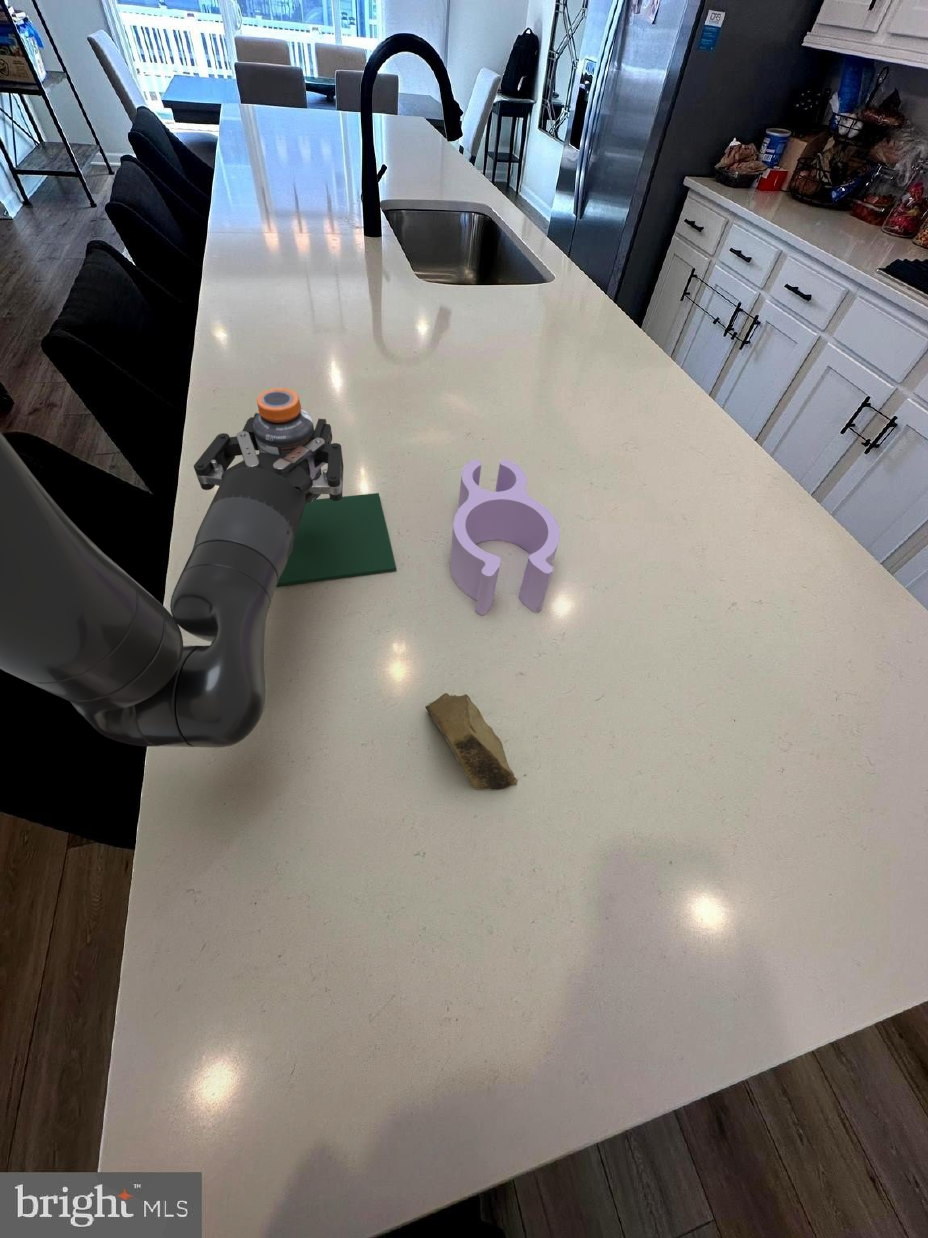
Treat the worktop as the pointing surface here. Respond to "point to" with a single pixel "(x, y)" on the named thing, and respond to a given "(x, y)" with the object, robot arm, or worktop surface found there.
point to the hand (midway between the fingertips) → (292, 423)
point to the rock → (472, 742)
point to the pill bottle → (282, 424)
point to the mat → (339, 541)
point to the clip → (501, 535)
